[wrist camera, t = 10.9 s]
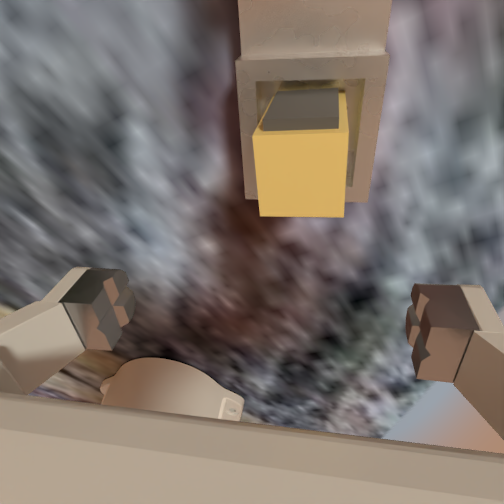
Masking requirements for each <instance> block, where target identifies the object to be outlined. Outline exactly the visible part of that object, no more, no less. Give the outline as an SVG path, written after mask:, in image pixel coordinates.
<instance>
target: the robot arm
mask: <svg viewBox="0 0 504 504" xmlns="http://www.w3.org/2000/svg"><path fill="white" fill-rule="evenodd" d="M128 282H129V279H128V277H127V274H126V272H125V271H123V270H120V269H105V268H88V267H76V268H72V269H71V270H70V271H69V272H68V273H67V275H66V276H65V277H64V278H63V279H62V280H61V281H60V282H59V283H58V284H57V285H56V286H55V287H54V288H53V289H52V290H51V291H50V292H49V293H48V294H47V295H46V297H45V298H44V299H43V300H42V301H41V302H38V301H36V302H34V303H32V304H30V305H28V306H25V307H23V308H21V309H19V310H17V311H15V312H13V313H11V314H9V315H7V316H5V317H3V318H1V319H0V504H504V454H501V453H493V452H485V451H477V450H469V449H461V448H453V447H444V446H436V445H428V444H420V443H412V442H404V441H396V440H388V439H380V438H372V437H363V436H355V435H347V434H339V433H330V432H322V431H314V430H306V429H298V428H289V427H281V426H273V425H265V424H257V423H248V422H240V419H241V415H242V411H243V407H244V399H243V398H242V397H241V396H239V395H237V394H235V393H233V392H231V391H229V390H227V389H225V388H223V387H222V386H220V385H219V384H218V383H217V382H215V381H214V380H213V379H212V378H211V377H209V376H208V375H206V374H205V373H203V372H201V371H200V370H198V369H196V368H194V367H191V366H189V365H186V364H184V363H181V362H177V361H173V360H169V359H163V358H139V359H135V360H132V361H129V362H127V363H125V364H124V365H122V366H121V367H120V369H119V370H118V372H117V373H116V375H115V376H113V377H110V378H107V379H105V380H104V381H103V382H102V385H101V387H100V391H101V392H102V393H103V395H104V398H103V400H102V402H101V404H95V403H86V402H78V401H70V400H62V399H54V398H46V397H38V396H30V395H28V394H29V393H31V392H32V391H33V390H35V389H36V388H37V387H38V386H40V385H41V384H42V383H44V382H45V381H46V380H48V379H49V378H50V377H51V376H53V375H54V374H55V373H57V372H58V371H59V370H61V369H62V368H63V367H64V366H66V365H67V364H68V363H70V362H71V361H72V360H74V359H75V358H76V357H77V356H79V355H80V354H81V353H83V352H84V351H85V349H94V350H111V351H112V350H113V348H114V346H115V345H116V343H117V341H118V340H119V338H120V337H121V335H122V328H121V327H122V326H124V325H126V324H127V323H129V322H130V320H131V318H132V317H133V315H134V311H135V306H136V303H135V296H134V293H133V291H131V290H130V289H129V288H128V287H127V284H128ZM411 298H412V302H413V304H412V305H411V306H410V307H408V310H407V315H406V335H407V340H408V343H409V344H410V345H411V346H412V347H413V352H412V356H411V358H412V362H413V366H414V370H415V374H416V378H417V379H424V380H433V381H442V382H450V383H454V386H455V387H456V388H457V389H458V390H459V391H460V392H461V393H462V394H463V396H464V397H465V398H466V399H467V400H468V401H469V402H470V403H471V404H472V405H473V407H474V408H475V409H476V410H477V411H478V412H479V413H480V414H481V415H482V417H483V418H484V419H485V420H486V421H487V422H488V423H489V424H490V425H491V426H492V428H493V429H494V430H495V431H496V432H497V433H498V434H499V435H500V436H501V438H502V439H503V440H504V326H503V324H502V322H501V320H500V318H499V317H498V315H497V313H496V311H495V309H494V307H493V306H492V304H491V302H490V300H489V298H488V296H487V295H486V293H485V291H484V289H483V287H481V286H480V285H458V284H457V285H444V284H420V283H415V284H414V286H413V288H412V292H411Z"/></svg>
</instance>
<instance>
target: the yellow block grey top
mask: <svg viewBox="0 0 504 504" xmlns="http://www.w3.org/2000/svg"><path fill="white" fill-rule="evenodd" d="M252 138H253V149H254V159H255V170H256V180H257V190H258V201H259V211H260V216H275V217H344V202H345V186H346V170H347V155H348V139H349V128H348V117H347V106H346V95H345V90H344V91H338V88H323V89H306V90H289V91H277V92H276V94H274V95H273V97H272V99H271V101H270V103H269V105H268V107H267V109H266V111H265V113H264V114H263V116H262V118H261V120H260V122H259V124H258V126H257V128H256V130H255V132H254V133H253V135H252Z"/></svg>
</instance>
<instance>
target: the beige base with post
mask: <svg viewBox="0 0 504 504" xmlns="http://www.w3.org/2000/svg"><path fill="white" fill-rule="evenodd" d="M391 4H392V0H238V9H239V25H240V40H241V56H240V57H239V58H237V59H236V60H235V66H236V79H237V93H238V106H239V120H240V133H241V147H242V160H243V174H244V187H245V199H258V190H257V180H256V170H255V159H254V149H253V138H252V135H253V133H254V132H255V130H256V128H257V126H258V124H259V122H260V120H261V118H262V116H263V114H264V113H265V111H266V109H267V107H268V105H269V103H270V101H271V99H272V97H273V95H274V94H276V92H277V91H289V90H306V89H323V88H338V91H344V90H345V95H346V106H347V117H348V128H349V139H348V155H347V170H346V186H345V202H368V195H369V189H370V182H371V176H372V169H373V163H374V156H375V150H376V143H377V136H378V130H379V123H380V117H381V110H382V104H383V97H384V91H385V84H386V78H387V71H388V65H389V58H390V55H389V54H388V52H387V51H386V50H385V46H386V39H387V32H388V25H389V18H390V11H391Z"/></svg>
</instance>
